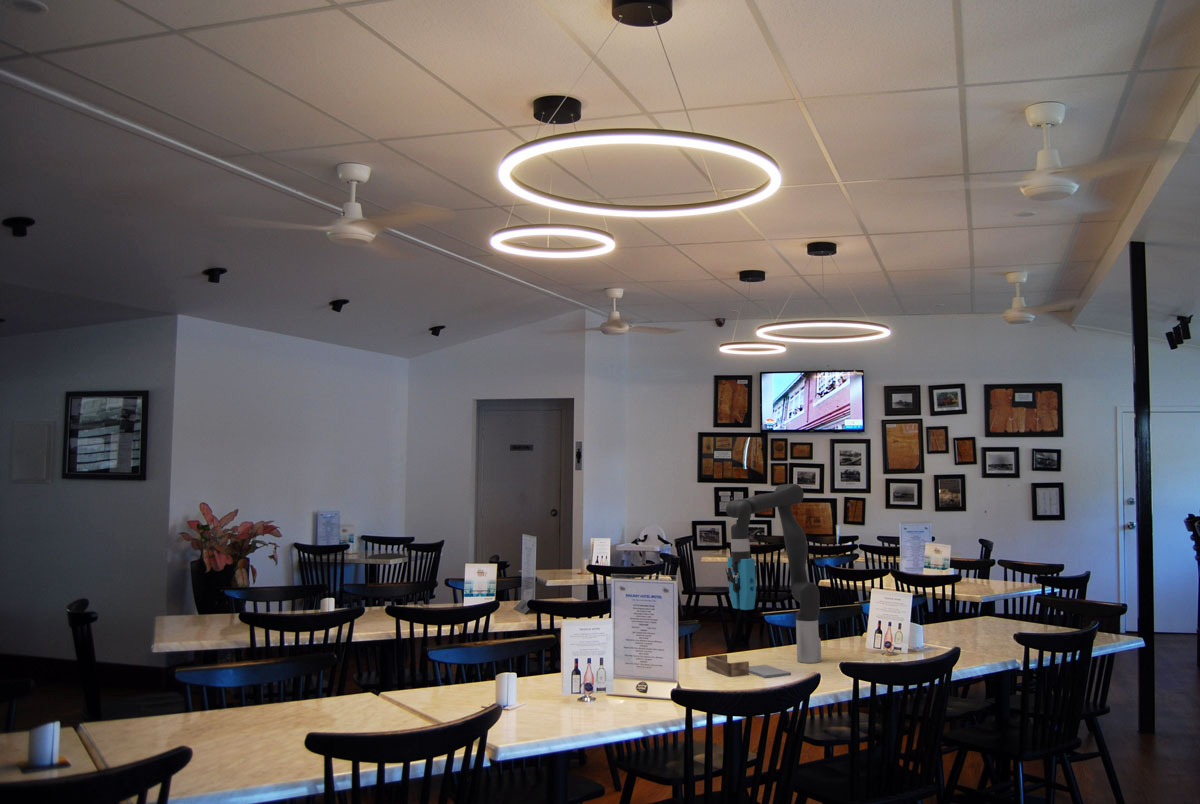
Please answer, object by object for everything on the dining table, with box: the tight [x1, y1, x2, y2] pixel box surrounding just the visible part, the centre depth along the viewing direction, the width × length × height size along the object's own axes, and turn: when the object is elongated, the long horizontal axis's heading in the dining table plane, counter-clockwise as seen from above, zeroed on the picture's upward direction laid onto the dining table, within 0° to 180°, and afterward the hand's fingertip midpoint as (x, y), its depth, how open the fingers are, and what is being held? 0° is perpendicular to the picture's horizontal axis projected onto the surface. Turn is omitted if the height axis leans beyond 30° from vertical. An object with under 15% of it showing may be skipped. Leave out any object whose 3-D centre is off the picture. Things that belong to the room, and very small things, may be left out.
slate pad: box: [749, 664, 792, 679], centre depth 362 cm, size 12×18×1 cm, turn 24°
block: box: [727, 557, 757, 611], centre depth 367 cm, size 12×5×20 cm, turn 31°
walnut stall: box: [705, 654, 750, 678], centre depth 364 cm, size 9×17×5 cm, turn 24°
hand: (742, 592), depth 366 cm, fingers closed on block, 5 cm apart
